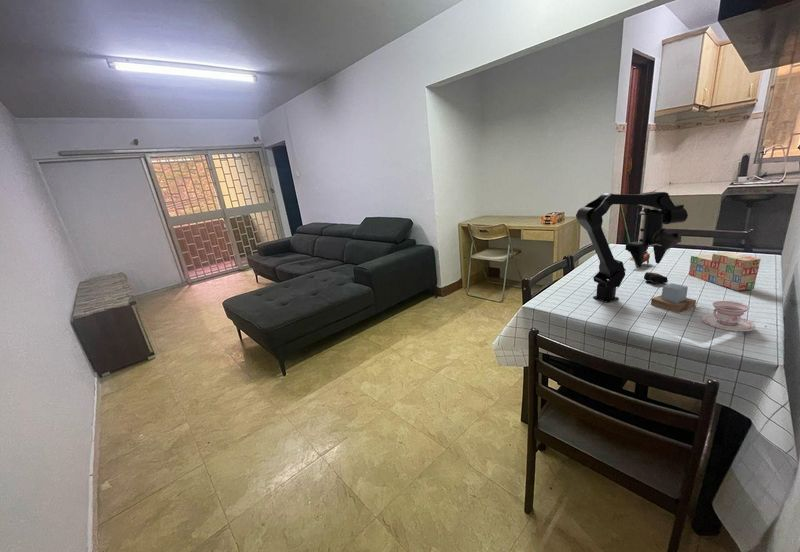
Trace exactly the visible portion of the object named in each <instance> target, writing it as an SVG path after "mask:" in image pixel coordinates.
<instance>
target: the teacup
mask: <svg viewBox="0 0 800 552" xmlns="http://www.w3.org/2000/svg"><path fill="white" fill-rule="evenodd" d="M712 306H713V307H714V308H715V309H713V313H710V314H705V315H703V316H702V317H701V320H702V322H703V323H704V324H706V325H708V326H711V327H713V328H716V329H721V330H724V331H726V330H727V331H731V332H751V331H753V330H755V329H756V324H755V323H754V322H752V321H750V320H748V319H746V318H743V317H742V316H744V315H745V313H747V312H748V311H749V309H750V306H749V305H748V304H745V303H743V302H739V301H733V300H732V301H731V300H717V301H713V302H712ZM718 321H719V322H720V323H719V322H718ZM736 324H737V325H736ZM735 325H736V326H735Z"/></svg>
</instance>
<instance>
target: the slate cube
mask: <svg viewBox="0 0 800 552" xmlns="http://www.w3.org/2000/svg"><path fill="white" fill-rule="evenodd" d="M688 289H689V287H688V286H687V285H681V284H677V283H672V282H671V283H668V284H666V285H663V286H662V290H661V295H662V297H661V299H663V300H667V301H671V302H675V303H678V302H681V301H684V300H686V298H687V296H688V295H687V294H688Z"/></svg>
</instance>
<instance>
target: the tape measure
mask: <svg viewBox="0 0 800 552" xmlns="http://www.w3.org/2000/svg"><path fill="white" fill-rule="evenodd" d="M643 279H644V280H646V281H647V282H652V283H653V284H666V283H668V281H669V280H668V277H667V276H664V275H662V274H660V273H656V272H652V271H651V272H650V271H647V272H645V273H644V275H643Z"/></svg>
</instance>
